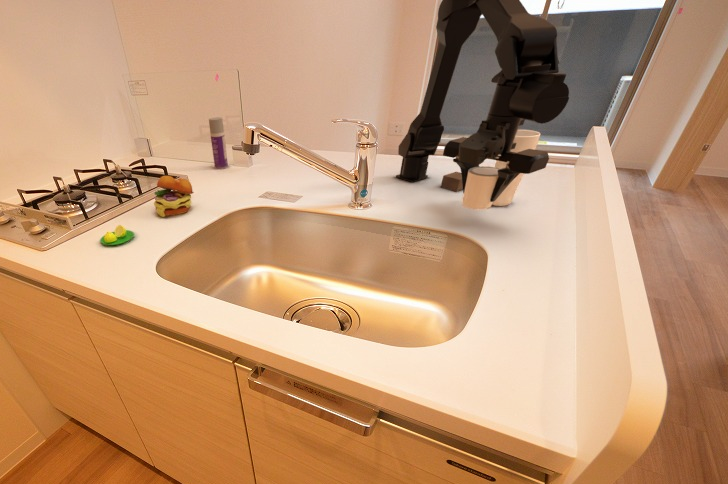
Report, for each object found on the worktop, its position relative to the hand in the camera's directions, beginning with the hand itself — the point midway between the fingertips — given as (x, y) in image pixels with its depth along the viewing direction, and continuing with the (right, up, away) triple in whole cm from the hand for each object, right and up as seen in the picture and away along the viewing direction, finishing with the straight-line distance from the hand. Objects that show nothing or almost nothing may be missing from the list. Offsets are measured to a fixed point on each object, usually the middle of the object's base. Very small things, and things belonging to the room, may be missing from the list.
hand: (478, 197), depth 79 cm
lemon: (-82, -7, +9) cm, 82 cm away
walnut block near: (+5, +10, +19) cm, 23 cm away
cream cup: (0, -1, +1) cm, 2 cm away
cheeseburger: (-70, +5, +21) cm, 74 cm away
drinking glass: (+10, +2, +9) cm, 14 cm away
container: (-60, +31, +51) cm, 85 cm away
